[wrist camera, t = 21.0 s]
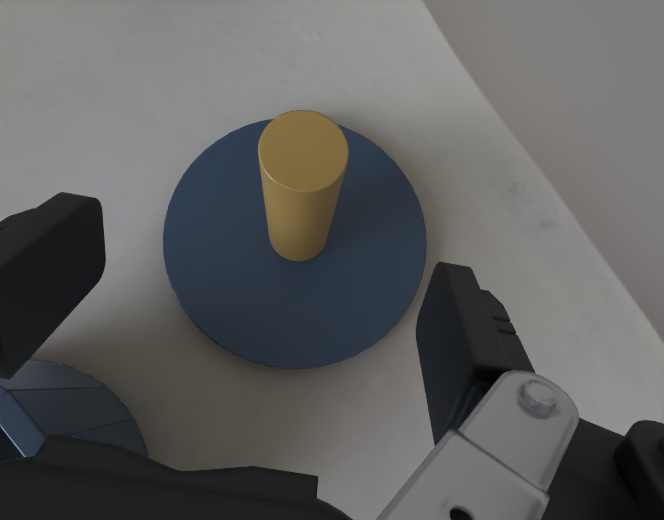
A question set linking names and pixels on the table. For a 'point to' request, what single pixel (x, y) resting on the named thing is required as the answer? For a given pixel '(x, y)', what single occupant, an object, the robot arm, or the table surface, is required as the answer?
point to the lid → (294, 242)
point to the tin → (61, 410)
